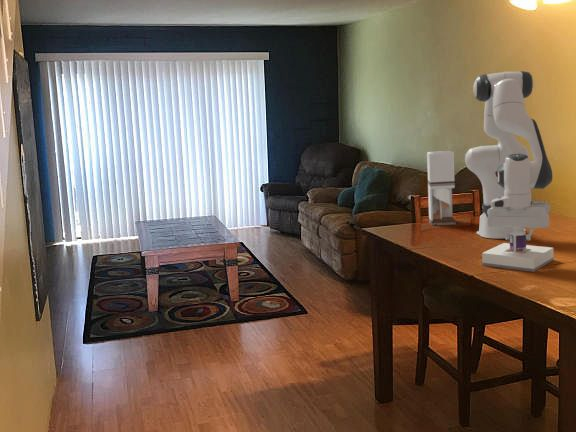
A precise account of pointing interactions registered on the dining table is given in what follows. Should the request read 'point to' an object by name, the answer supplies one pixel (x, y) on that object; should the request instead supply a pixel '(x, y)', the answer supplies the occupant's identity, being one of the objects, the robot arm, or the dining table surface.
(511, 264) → the socket holder
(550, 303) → the dining table surface
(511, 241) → the pill bottle
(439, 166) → the white dispenser
